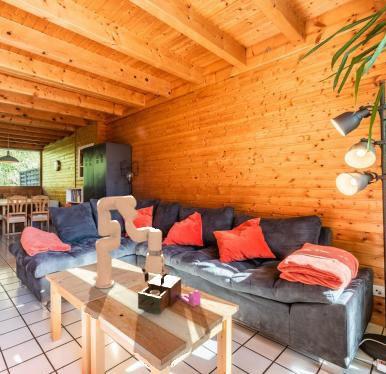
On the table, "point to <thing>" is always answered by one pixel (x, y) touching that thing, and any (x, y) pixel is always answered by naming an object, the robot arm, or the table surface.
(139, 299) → the drawer
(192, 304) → the bracket
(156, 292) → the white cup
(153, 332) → the table surface
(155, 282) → the cabinet
